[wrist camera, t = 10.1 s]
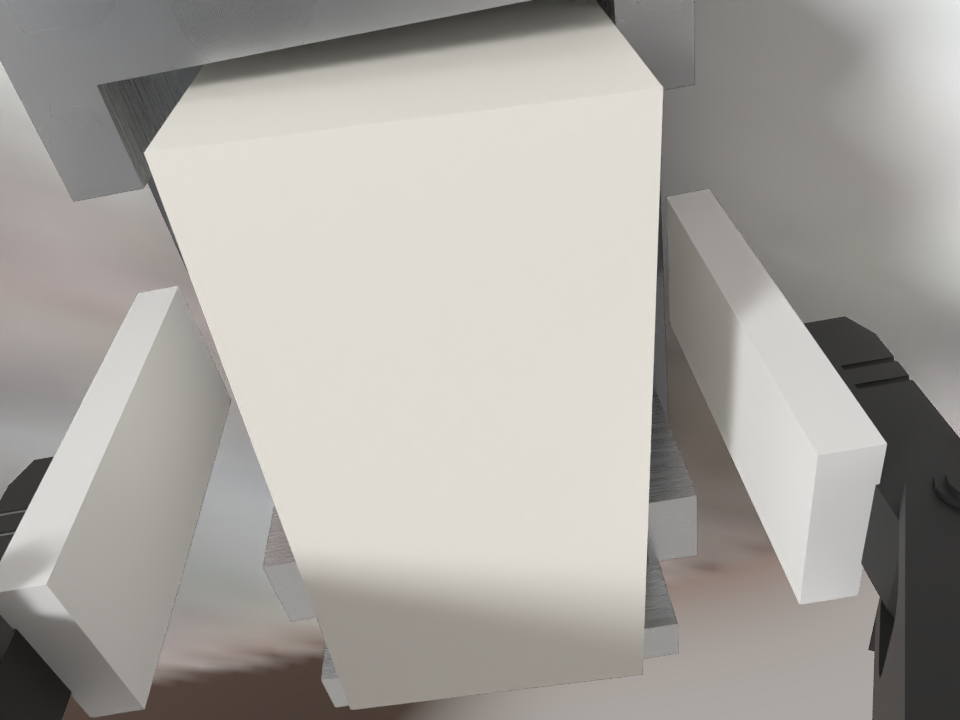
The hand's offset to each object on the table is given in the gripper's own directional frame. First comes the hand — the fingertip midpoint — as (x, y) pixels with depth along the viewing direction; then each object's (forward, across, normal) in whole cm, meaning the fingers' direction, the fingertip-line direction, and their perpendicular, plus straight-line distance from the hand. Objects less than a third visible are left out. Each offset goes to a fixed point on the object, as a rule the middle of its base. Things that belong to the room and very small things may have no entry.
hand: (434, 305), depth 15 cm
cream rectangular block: (+1, 0, 0) cm, 1 cm away
